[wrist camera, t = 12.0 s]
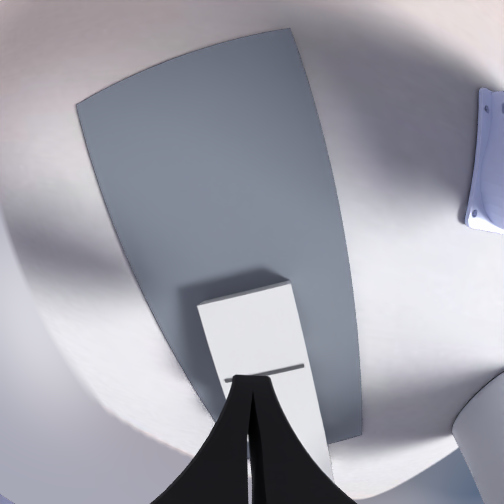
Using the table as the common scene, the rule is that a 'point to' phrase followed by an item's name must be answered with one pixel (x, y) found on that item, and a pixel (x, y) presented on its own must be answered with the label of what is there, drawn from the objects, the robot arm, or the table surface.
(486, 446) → the cylinder vase
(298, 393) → the domino
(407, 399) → the table surface
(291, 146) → the slate mat
